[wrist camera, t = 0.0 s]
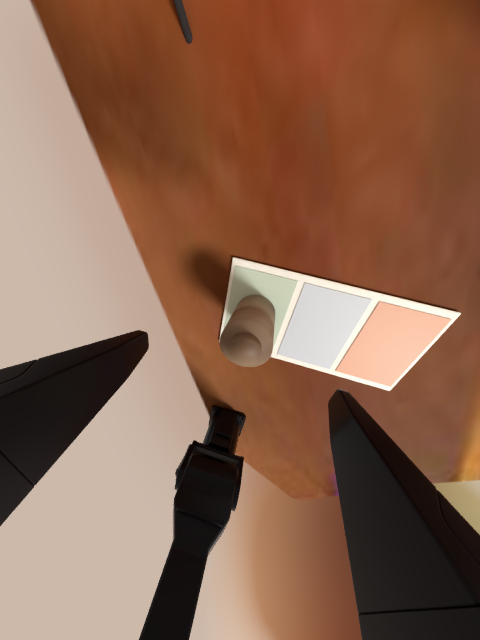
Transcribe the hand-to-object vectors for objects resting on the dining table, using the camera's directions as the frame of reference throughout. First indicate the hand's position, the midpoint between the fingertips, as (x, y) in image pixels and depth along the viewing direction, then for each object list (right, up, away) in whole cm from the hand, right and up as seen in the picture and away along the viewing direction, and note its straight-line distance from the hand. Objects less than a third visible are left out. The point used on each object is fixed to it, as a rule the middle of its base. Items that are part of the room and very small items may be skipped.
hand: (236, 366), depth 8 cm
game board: (+10, +1, +14) cm, 17 cm away
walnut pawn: (+2, +3, +14) cm, 15 cm away
